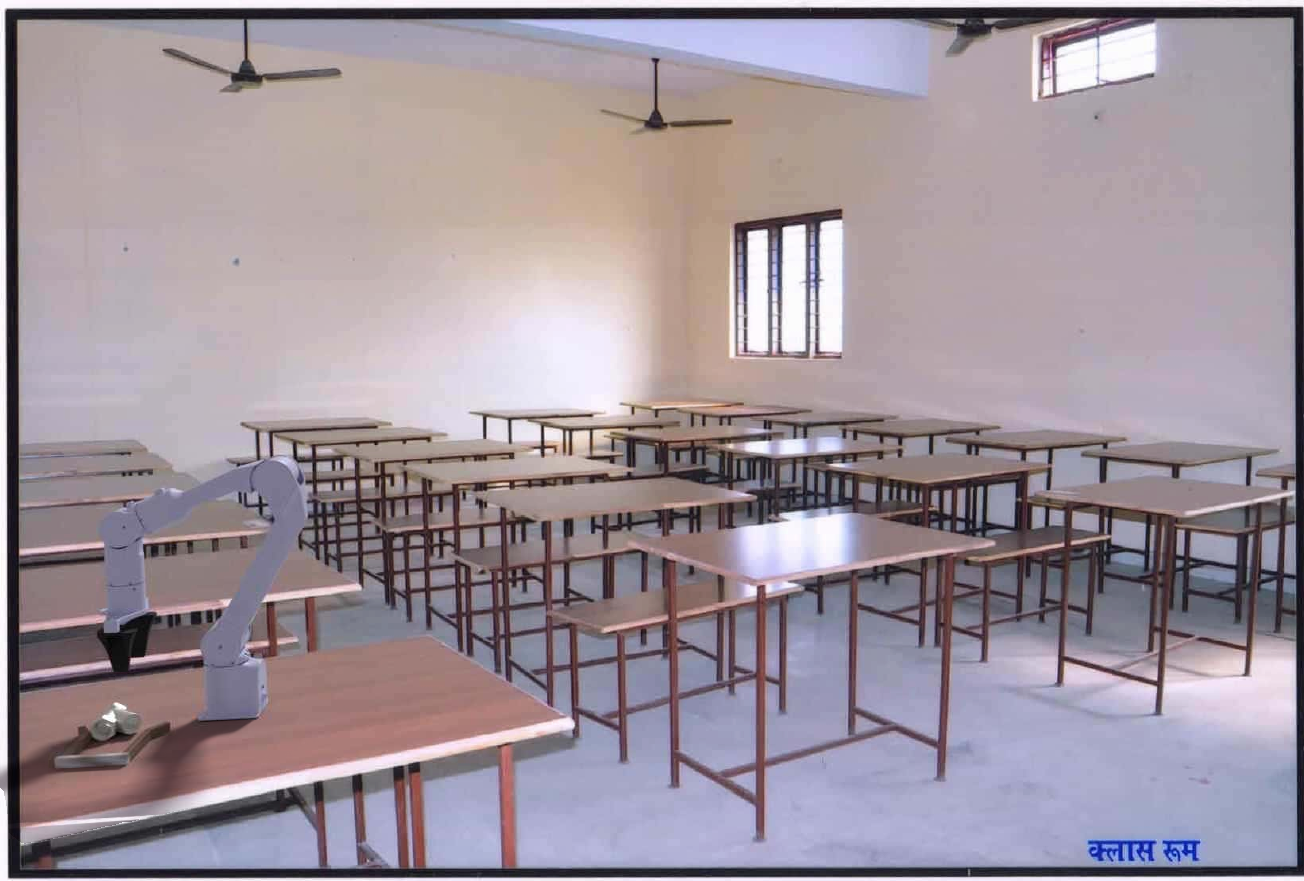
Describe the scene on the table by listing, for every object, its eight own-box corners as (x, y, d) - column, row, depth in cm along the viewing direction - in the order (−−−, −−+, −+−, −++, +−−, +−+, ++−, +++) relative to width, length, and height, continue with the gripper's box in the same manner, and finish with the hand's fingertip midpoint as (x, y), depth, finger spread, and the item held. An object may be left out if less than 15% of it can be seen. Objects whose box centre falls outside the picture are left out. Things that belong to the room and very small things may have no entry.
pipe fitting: (137, 714, 160) (89, 718, 158) (138, 739, 160) (90, 743, 159) (149, 699, 168) (104, 703, 166) (150, 722, 168) (105, 726, 166)
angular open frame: (171, 730, 163) (171, 721, 163) (141, 764, 150) (140, 754, 150) (79, 735, 161) (79, 725, 161) (40, 769, 148) (40, 759, 148)
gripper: (116, 573, 172) (120, 652, 173) (81, 594, 158) (85, 679, 159) (160, 572, 173) (163, 650, 174) (129, 592, 159) (133, 677, 160)
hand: (129, 664), depth 167 cm, fingers open, 7 cm apart
